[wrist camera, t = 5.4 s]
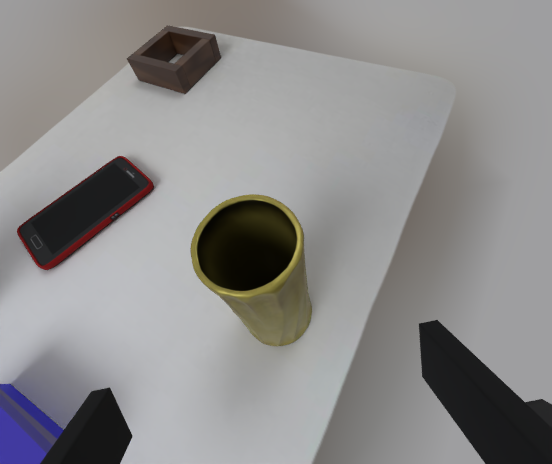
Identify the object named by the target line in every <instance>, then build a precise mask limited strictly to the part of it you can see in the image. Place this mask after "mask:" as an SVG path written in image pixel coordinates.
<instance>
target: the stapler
mask: <svg viewBox="0 0 552 464" xmlns="http://www.w3.org/2000/svg"><path fill="white" fill-rule="evenodd" d="M63 431H64V430H63V429H62V428H61V427H59V426H58V425H57V424H56V423H55V422H54V421H52V420H51V419H50V418H49V417H48V416H47V415H45V414H44V413H43V412H42V411H41V410H40V409H38V408H37V407H36V406H35V405H34V404H33V403H32V402H30V401H29V400H28V399H27V398H26V397H25V396H23V395H22V394H21V393H20V392H19V391H18V390H16V389H15V388H14V387H13V386H12V385H11V384H0V464H40V463H41V461H42V460H43V459H44V457H45V456H46V454H47V453H48V452H49V450H50V449H51V447H52V446H53V445H54V443H55V442H56V440H57V439H58V438H59V436H60V435H61V434H62V432H63Z"/></svg>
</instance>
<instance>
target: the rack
mask: <svg viewBox="0 0 552 464" xmlns="http://www.w3.org/2000/svg"><path fill="white" fill-rule="evenodd" d="M177 53H178V54H182V55H183V56H182V57H181V58H180V59H179V60H178V61H177V62H176V63H175V64H173V63H169V62H168V61H170V60H171V59H172V58H173V57H174V56H175V55H176V54H177ZM220 58H221V55H220V51H219V48H218V44H217V40H216V37H215V35H214V34H208V33H203V32H198V31H193V30H188V29H183V28H178V27H173V26H166V27H165V28H164V29H162V30H161V31H160V32H159V33H158V34H156V35H155V36H154V37H153V38H151V39H150V40H149V41H148V42H147V43H145V44H144V45H143V46H142V47H140V48H139V49H138V50H137V51H136V52H134V53H133V54H132V55H131V56H129V57H128V58H127V60H128V62H129V64H130V65H131V67H132V69H133V71H134V72H135V74H136V76H137V78H138V79H139V80H140V81H143V82H147V83H150V84H153V85H157V86H160V87H164V88H167V89H170V90H174V91H177V92H181V93H184V94H185V93H186V92H187V91H188V90H189V89H190V88H191V87H192V86H193V85H194V84H195V83H196V82H197V81H198V80H199V79H200V78H201V77H202V76H203V75H204V74H205V73H206V72H207V71H208V70H209V69H210V68H211V67H212V66H213V65H214V64H215V63H216V62H217V61H218V60H219V59H220Z"/></svg>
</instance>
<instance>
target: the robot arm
mask: <svg viewBox="0 0 552 464" xmlns="http://www.w3.org/2000/svg"><path fill="white" fill-rule="evenodd" d="M419 332H420V347H421V363H422V377H423V378H424V379H425V381H426V382H427V384H428V385H429V386H430V388H431V389H432V391H433V392H434V393H435V395H436V396H437V398H438V399H439V400H440V402H441V403H442V404H443V406H444V407H445V409H446V410H447V411H448V413H449V414H450V415H451V417H452V418H453V420H454V421H455V422H456V423H457V425H458V426H459V428H460V429H461V431H462V432H463V433H464V435H465V436H466V438H467V439H468V440H469V442H470V443H471V444H472V446H473V447H474V449H475V450H476V451H477V453H478V454H479V455H480V457H481V458H482V459H483V461H484V462H485V464H552V404H550V403H548V402H546V401H544V400H543V399H540V400H535V401H530V402H524V401H523V400H522V399H521V398H520V397H519V396H518V395H516V394H515V393H514V392H513V391H512V390H511V389H510V388H509V387H508V386H507V385H506V384H505V383H504V382H503V381H502V380H501V379H499V378H498V377H497V376H496V375H495V374H494V373H493V372H492V371H491V370H490V369H489V368H488V367H486V365H485V364H483V363H482V362H481V361H480V360H479V359H478V358H477V357H476V356H475V355H474V354H473V353H472V352H471V351H470V350H469V349H467V348H466V347H465V346H464V345H463V344H462V343H461V342H460V341H459V340H458V339H457V338H456V337H455V336H454V335H452V333H450V332H449V331H448V330H447V329H446V328H445V327H444V326H443V325H442V324H441V323H440V322H439V321H438V320H435V321H430V322H426V323H420V324H419ZM131 438H132V434H131V432H130V430H129V428H128V425H127V423H126V421H125V419H124V417H123V415H122V413H121V411H120V408H119V406H118V404H117V402H116V400H115V398H114V396H113V394H112V391H111V389H110V388H106V389H101V390H96V391H92V392H91V393H90V395H89V396H88V397H87V399H86V400H85V402H84V403H83V404H82V406H81V407H80V408H79V410H78V411H77V413H76V414H75V415H74V417H73V418H72V420H71V421H70V422H69V424H68V425H67V427H66V428H65V429H64V431H63V432H62V434H61V435H60V436H59V438H58V439H57V440H56V442H55V443H54V445H53V446H52V447H51V449H50V450H49V452H48V453H47V454H46V456H45V457H44V459H43V460H42V461H41V463H40V464H120V462H121V460H122V458H123V456H124V454H125V451H126V449H127V447H128V445H129V443H130V441H131Z"/></svg>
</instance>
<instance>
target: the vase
mask: <svg viewBox="0 0 552 464" xmlns="http://www.w3.org/2000/svg"><path fill="white" fill-rule="evenodd" d="M191 257H192V263H193V267H194V271H195V273H196V274H197V276H198V278H199V279H200V280H201V281H202V283H203V284H204V285H205V286H207V287H208V288H209V289H210V290H211V291H213V292H214V293H215V294H217V295H218V296H220V298H221V299H223V300H224V301H225V302H226V303H227V304H228V305H229V306H230V308H231V309H232V310H233V312H234V313H235V314H236V315H237V316H238V317H239V318H240V319H241V320H242V322H243V323H244V324H245V325H246V327H247V328H248V329H249V331H250V333H251V334H252V335H253V336H254V337H256V338H257V339H258V340H259V341H261V342H262V343H264V344H267V345H271V346H283V345H287V344H290V343H293V342H295V341H296V340H297V339H298V338H300V337H301V336H302V334H303V333H304V332H305V330H306V329H307V327H308V325H309V323H310V319H311V313H312V307H311V302H310V299H309V294H308V287H307V278H306V269H305V256H304V234H303V230H302V227H301V225H300V223H299V221H298V219H297V217H296V216H295V214H294V213H293V212H292V211H291V210H290V209H289V208H288V207H286V206H285V205H284V204H282V203H281V202H279V201H277V200H275V199H273V198H271V197H268V196H263V195H253V194H252V195H243V196H239V197H235V198H231V199H229V200H226V201H224V202H222V203H221V204H219V205H218V206H216V207H215V208H214V209H212V210H211V211H210V213H209V214H208V215H207V216H206V217H205V218H204V219H203V220H202V222H201V223H200V224H199V226H198V227H197V229H196V232H195V234H194V237H193V239H192V243H191Z"/></svg>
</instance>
